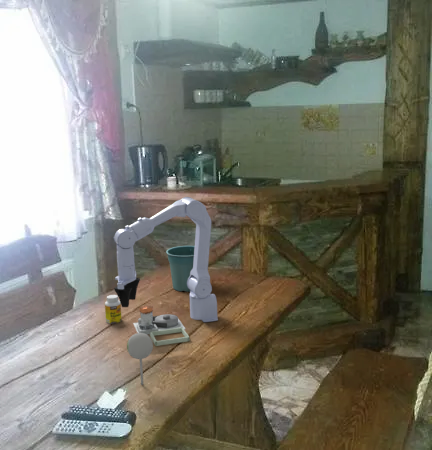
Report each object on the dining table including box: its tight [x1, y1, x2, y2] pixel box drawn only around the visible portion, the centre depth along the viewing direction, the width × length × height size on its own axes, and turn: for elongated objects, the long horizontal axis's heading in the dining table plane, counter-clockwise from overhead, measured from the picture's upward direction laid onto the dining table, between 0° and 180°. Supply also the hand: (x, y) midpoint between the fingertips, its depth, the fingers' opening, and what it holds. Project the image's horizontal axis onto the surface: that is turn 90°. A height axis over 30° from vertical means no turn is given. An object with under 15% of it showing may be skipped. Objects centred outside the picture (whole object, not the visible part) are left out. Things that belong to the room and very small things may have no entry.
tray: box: [149, 327, 191, 347], centre depth 198 cm, size 11×9×2 cm
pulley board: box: [132, 313, 186, 335], centre depth 209 cm, size 16×12×4 cm
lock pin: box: [138, 305, 154, 330], centre depth 204 cm, size 5×5×8 cm
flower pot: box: [165, 245, 195, 293], centre depth 253 cm, size 16×16×16 cm
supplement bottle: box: [104, 294, 123, 325], centre depth 214 cm, size 6×6×10 cm
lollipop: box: [126, 332, 154, 386], centre depth 167 cm, size 7×7×15 cm
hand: (128, 303), depth 206 cm, fingers open, 7 cm apart
